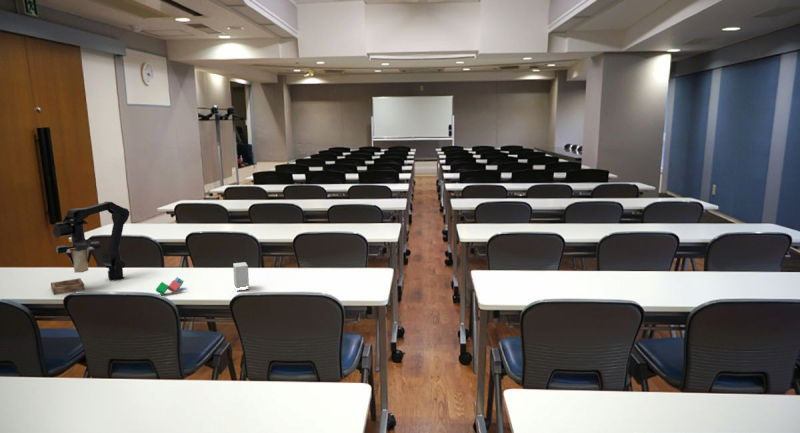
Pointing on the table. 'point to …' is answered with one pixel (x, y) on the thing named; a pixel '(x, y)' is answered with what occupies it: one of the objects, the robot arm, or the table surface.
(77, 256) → the box
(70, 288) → the brown square frame
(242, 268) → the small box
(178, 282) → the building blocks
